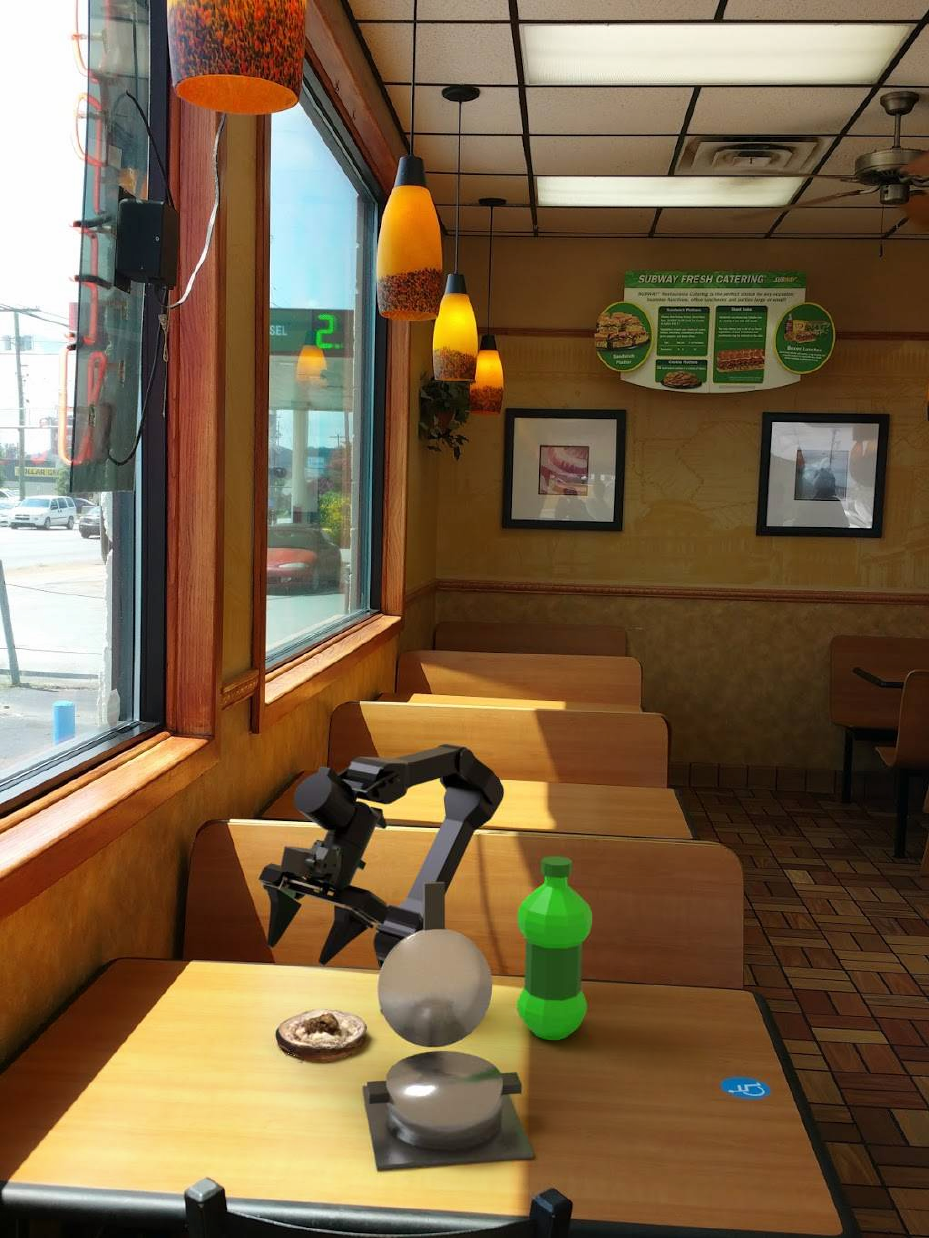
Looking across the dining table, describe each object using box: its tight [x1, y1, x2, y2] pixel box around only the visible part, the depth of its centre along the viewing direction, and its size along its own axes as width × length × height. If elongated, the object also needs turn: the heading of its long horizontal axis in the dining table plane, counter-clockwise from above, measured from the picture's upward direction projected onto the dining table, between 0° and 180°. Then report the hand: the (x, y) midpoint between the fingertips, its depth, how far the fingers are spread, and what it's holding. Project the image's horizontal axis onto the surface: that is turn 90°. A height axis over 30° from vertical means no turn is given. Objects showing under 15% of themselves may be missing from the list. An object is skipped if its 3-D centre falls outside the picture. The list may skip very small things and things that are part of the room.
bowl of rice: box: [274, 1008, 368, 1064], centre depth 159 cm, size 15×15×4 cm
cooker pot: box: [362, 1050, 534, 1171], centre depth 139 cm, size 18×18×6 cm
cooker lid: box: [377, 882, 493, 1048], centre depth 147 cm, size 20×15×2 cm
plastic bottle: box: [516, 856, 593, 1041], centre depth 163 cm, size 10×10×25 cm
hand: (295, 955), depth 149 cm, fingers open, 9 cm apart
